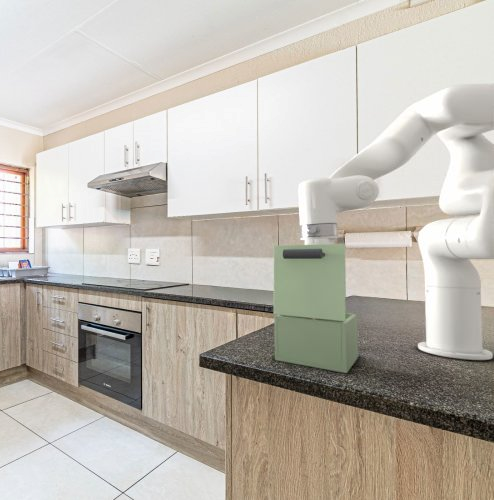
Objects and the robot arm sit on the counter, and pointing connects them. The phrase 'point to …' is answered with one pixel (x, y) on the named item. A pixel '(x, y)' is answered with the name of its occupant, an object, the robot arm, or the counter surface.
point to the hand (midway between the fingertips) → (321, 307)
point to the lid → (310, 281)
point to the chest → (317, 341)
